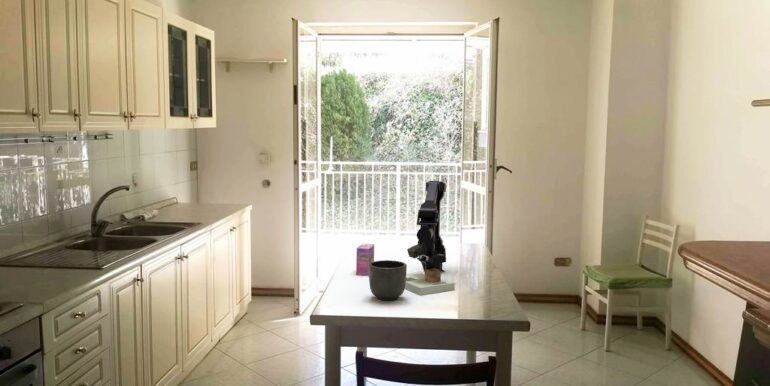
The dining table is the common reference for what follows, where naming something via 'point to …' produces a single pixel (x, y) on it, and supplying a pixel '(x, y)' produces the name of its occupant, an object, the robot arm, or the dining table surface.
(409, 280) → the trap tray
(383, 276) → the planter
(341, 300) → the dining table surface
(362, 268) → the box
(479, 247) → the dining table surface
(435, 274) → the block
